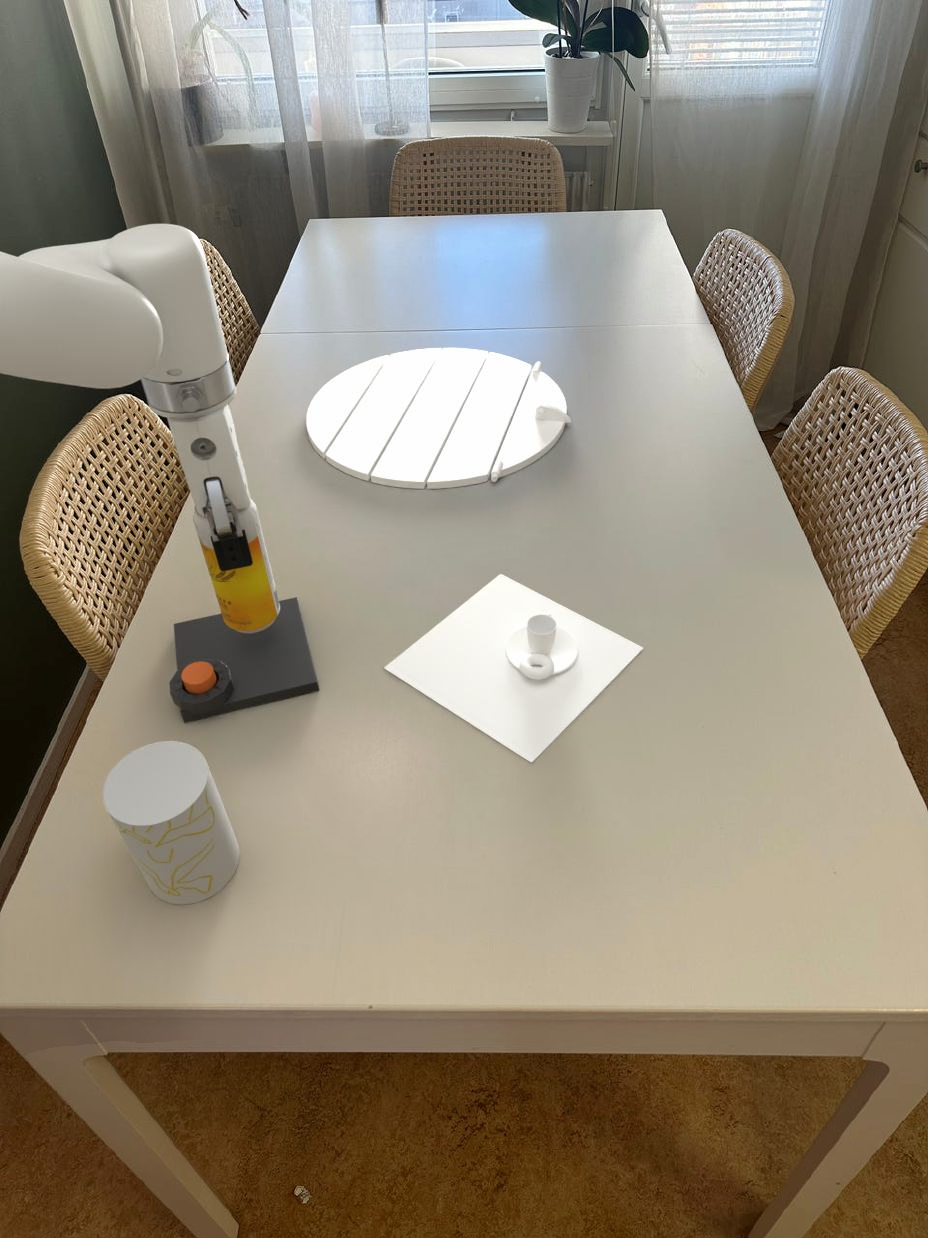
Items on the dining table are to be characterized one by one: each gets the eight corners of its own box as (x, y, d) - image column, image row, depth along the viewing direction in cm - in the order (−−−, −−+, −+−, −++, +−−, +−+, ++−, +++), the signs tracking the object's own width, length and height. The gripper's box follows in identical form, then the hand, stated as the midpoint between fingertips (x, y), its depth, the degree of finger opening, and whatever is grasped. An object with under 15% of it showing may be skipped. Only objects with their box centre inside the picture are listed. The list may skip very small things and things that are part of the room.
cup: (146, 915, 73) (101, 837, 65) (146, 835, 79) (104, 754, 71) (243, 890, 75) (211, 810, 66) (235, 813, 80) (205, 731, 72)
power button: (186, 697, 88) (182, 687, 86) (184, 675, 90) (180, 665, 89) (217, 690, 88) (214, 679, 87) (215, 668, 90) (211, 658, 89)
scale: (179, 728, 88) (171, 709, 86) (171, 633, 98) (164, 614, 96) (320, 694, 91) (315, 675, 89) (299, 605, 101) (294, 586, 99)
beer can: (221, 605, 95) (187, 492, 85) (277, 593, 96) (250, 480, 86) (227, 642, 91) (192, 528, 81) (285, 629, 92) (258, 514, 82)
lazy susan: (589, 365, 141) (590, 345, 139) (546, 505, 114) (547, 483, 111) (357, 345, 149) (355, 326, 147) (265, 471, 122) (260, 450, 119)
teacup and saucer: (544, 694, 90) (545, 667, 87) (485, 659, 94) (484, 632, 91) (592, 647, 94) (595, 620, 92) (534, 616, 98) (535, 589, 95)
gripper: (243, 423, 69) (282, 592, 82) (223, 333, 81) (260, 491, 94) (146, 440, 68) (201, 609, 80) (141, 345, 80) (189, 505, 92)
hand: (232, 544), depth 87 cm, fingers closed on beer can, 6 cm apart
